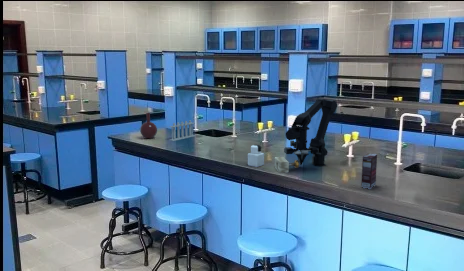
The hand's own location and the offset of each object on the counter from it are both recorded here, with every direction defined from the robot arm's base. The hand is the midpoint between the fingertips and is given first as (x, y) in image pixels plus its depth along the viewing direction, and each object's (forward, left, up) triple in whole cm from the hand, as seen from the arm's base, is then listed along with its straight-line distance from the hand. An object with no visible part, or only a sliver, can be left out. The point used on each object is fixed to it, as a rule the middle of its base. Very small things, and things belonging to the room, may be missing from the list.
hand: (300, 164), depth 237 cm
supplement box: (-23, +37, -3) cm, 43 cm away
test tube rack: (+63, -104, -3) cm, 122 cm away
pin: (+7, 0, -2) cm, 8 cm away
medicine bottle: (+23, -13, -3) cm, 27 cm away
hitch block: (+11, 0, -2) cm, 12 cm away
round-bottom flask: (+89, -108, -3) cm, 140 cm away
